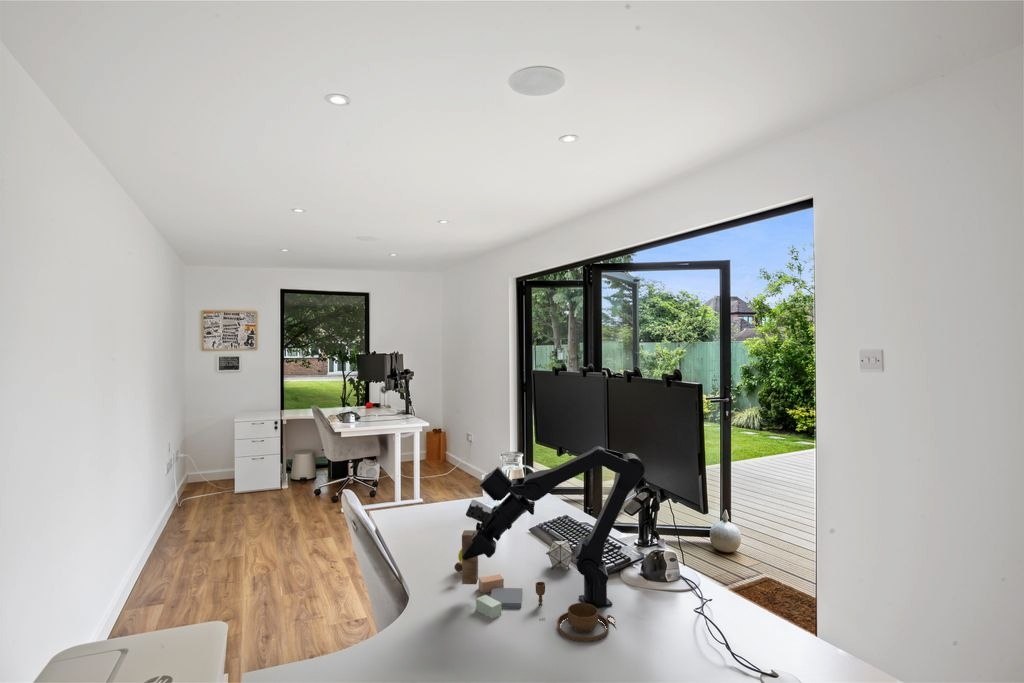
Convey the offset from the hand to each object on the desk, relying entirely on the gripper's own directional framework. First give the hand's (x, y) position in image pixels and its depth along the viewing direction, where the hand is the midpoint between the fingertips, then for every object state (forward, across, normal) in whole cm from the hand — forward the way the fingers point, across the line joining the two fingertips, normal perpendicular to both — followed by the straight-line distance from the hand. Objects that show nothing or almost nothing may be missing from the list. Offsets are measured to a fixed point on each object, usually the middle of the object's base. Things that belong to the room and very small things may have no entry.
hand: (464, 555), depth 143 cm
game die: (-10, -20, +26) cm, 34 cm away
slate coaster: (0, 0, +16) cm, 16 cm away
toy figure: (+9, -17, +7) cm, 21 cm away
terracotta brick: (+4, -6, +12) cm, 14 cm away
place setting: (-11, +9, +28) cm, 32 cm away
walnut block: (+4, 0, +6) cm, 7 cm away
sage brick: (+3, +6, +13) cm, 15 cm away
